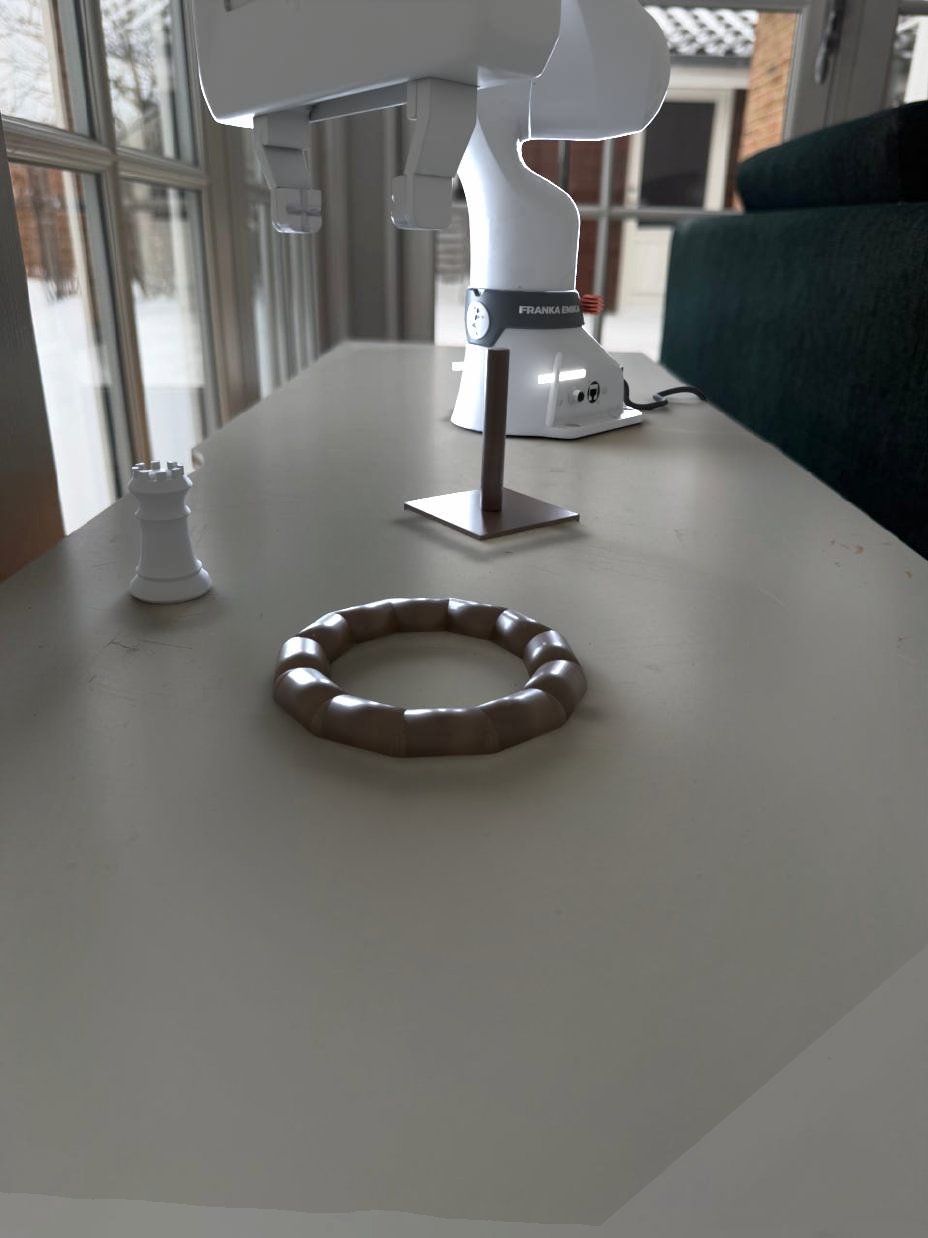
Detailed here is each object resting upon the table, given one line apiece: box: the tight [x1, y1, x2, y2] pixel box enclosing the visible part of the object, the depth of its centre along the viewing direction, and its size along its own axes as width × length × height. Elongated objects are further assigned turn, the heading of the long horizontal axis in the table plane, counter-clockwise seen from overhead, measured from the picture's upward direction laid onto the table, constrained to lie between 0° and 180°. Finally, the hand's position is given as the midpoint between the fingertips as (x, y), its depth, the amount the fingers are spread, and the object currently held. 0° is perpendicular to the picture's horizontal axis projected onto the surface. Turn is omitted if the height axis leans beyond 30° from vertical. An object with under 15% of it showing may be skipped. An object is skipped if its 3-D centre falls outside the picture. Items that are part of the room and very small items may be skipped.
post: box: [403, 347, 581, 542], centre depth 61 cm, size 9×9×12 cm
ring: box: [272, 597, 588, 759], centre depth 40 cm, size 14×14×2 cm
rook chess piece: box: [126, 460, 213, 605], centre depth 47 cm, size 4×4×8 cm
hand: (353, 231), depth 37 cm, fingers open, 8 cm apart
